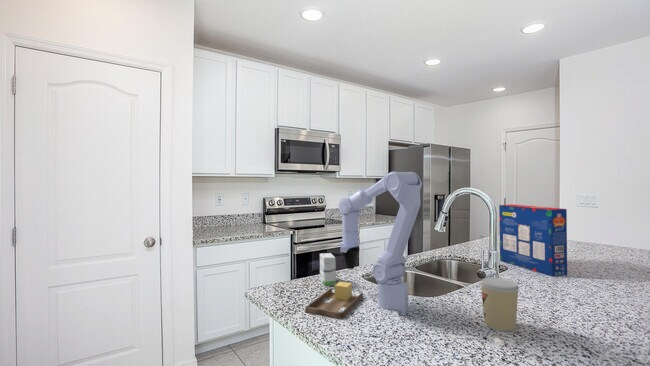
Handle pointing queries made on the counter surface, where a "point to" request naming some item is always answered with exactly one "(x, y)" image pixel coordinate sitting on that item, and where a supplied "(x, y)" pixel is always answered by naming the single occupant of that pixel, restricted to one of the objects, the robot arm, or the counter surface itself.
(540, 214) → the blue cardboard box
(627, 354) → the counter surface
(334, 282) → the ink box
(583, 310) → the counter surface
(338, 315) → the wooden serving tray
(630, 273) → the counter surface
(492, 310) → the coffee cup
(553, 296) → the counter surface
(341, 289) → the block
